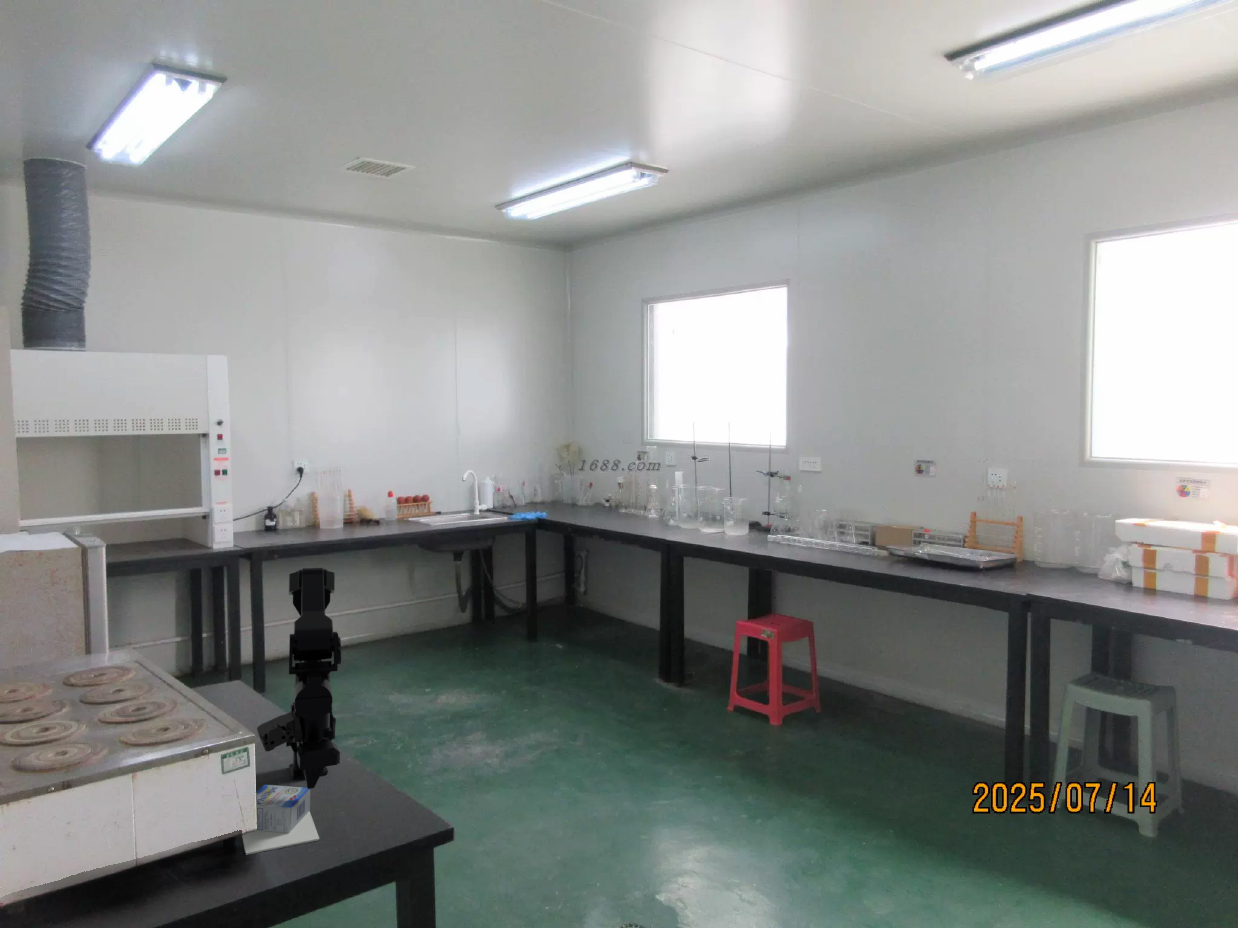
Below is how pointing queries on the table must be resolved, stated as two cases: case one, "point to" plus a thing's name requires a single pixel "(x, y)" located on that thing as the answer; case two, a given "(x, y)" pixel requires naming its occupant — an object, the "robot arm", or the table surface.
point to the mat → (281, 837)
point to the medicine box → (281, 807)
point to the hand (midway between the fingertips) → (310, 787)
